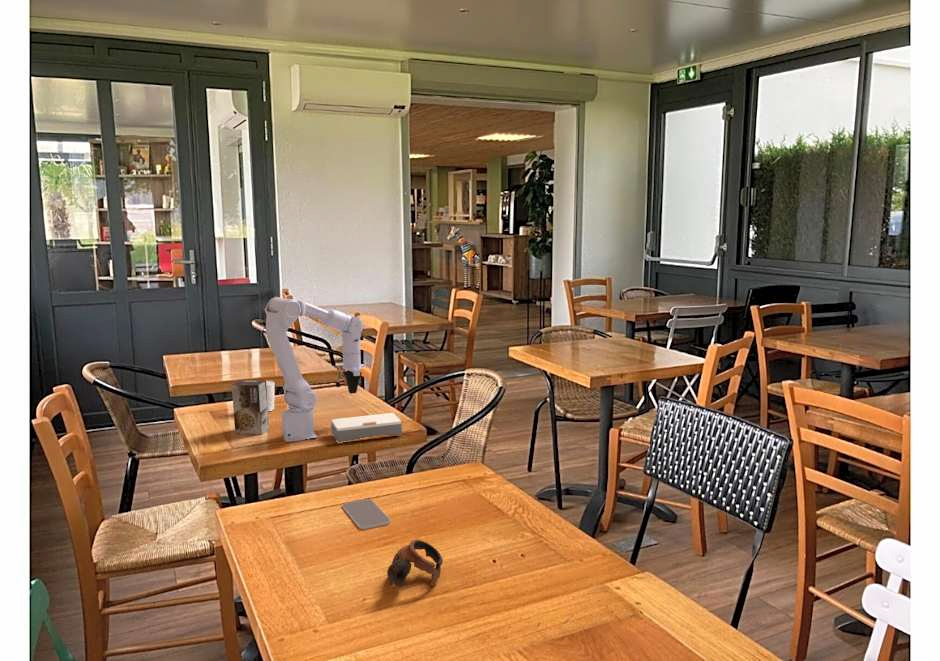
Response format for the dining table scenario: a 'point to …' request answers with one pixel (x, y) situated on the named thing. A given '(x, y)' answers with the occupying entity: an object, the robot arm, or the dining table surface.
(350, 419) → the duct lid
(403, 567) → the brown looped part
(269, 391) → the white cup
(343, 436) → the cable duct
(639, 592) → the dining table surface
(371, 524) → the smartphone
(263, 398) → the coffee box
